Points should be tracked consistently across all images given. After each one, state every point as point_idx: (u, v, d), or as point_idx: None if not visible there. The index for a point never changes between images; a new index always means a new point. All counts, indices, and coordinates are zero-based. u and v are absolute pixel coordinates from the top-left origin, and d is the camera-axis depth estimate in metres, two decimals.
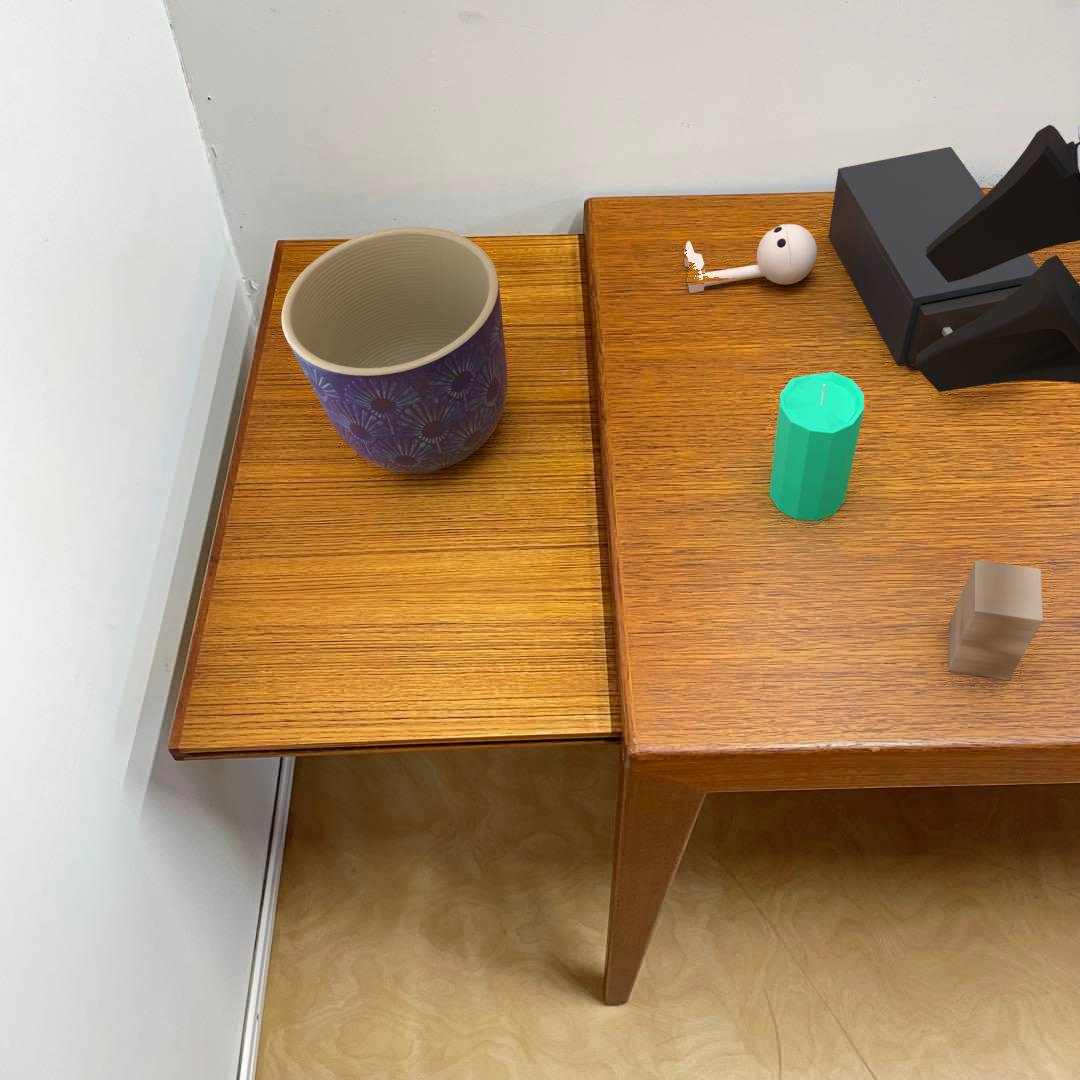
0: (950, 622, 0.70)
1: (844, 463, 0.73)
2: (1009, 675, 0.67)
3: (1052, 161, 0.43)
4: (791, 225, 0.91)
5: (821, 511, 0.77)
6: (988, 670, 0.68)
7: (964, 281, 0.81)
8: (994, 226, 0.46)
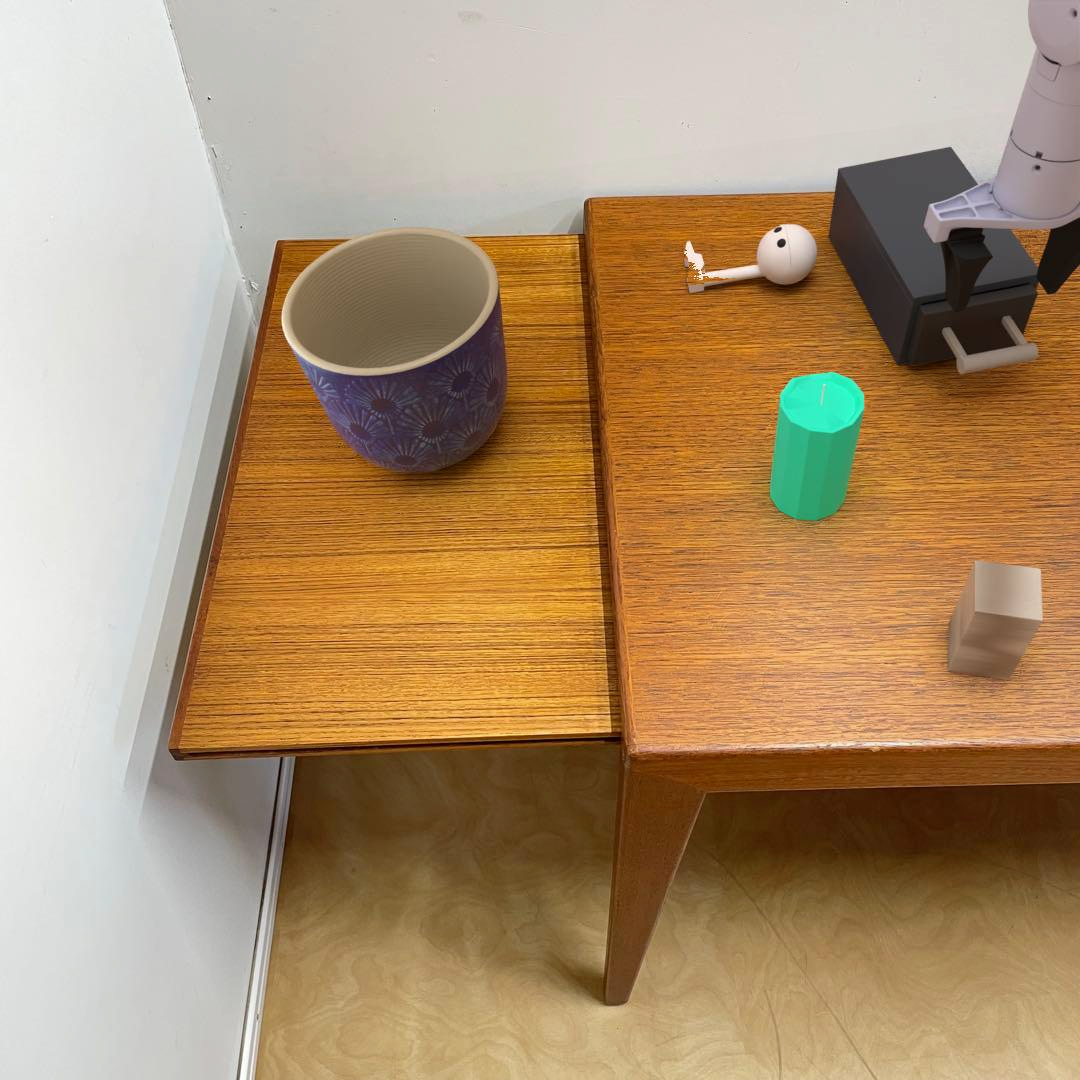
0: (950, 622, 0.70)
1: (844, 463, 0.73)
2: (1009, 675, 0.67)
3: None
4: (791, 225, 0.91)
5: (821, 511, 0.77)
6: (988, 670, 0.68)
7: None
8: (1054, 247, 0.74)
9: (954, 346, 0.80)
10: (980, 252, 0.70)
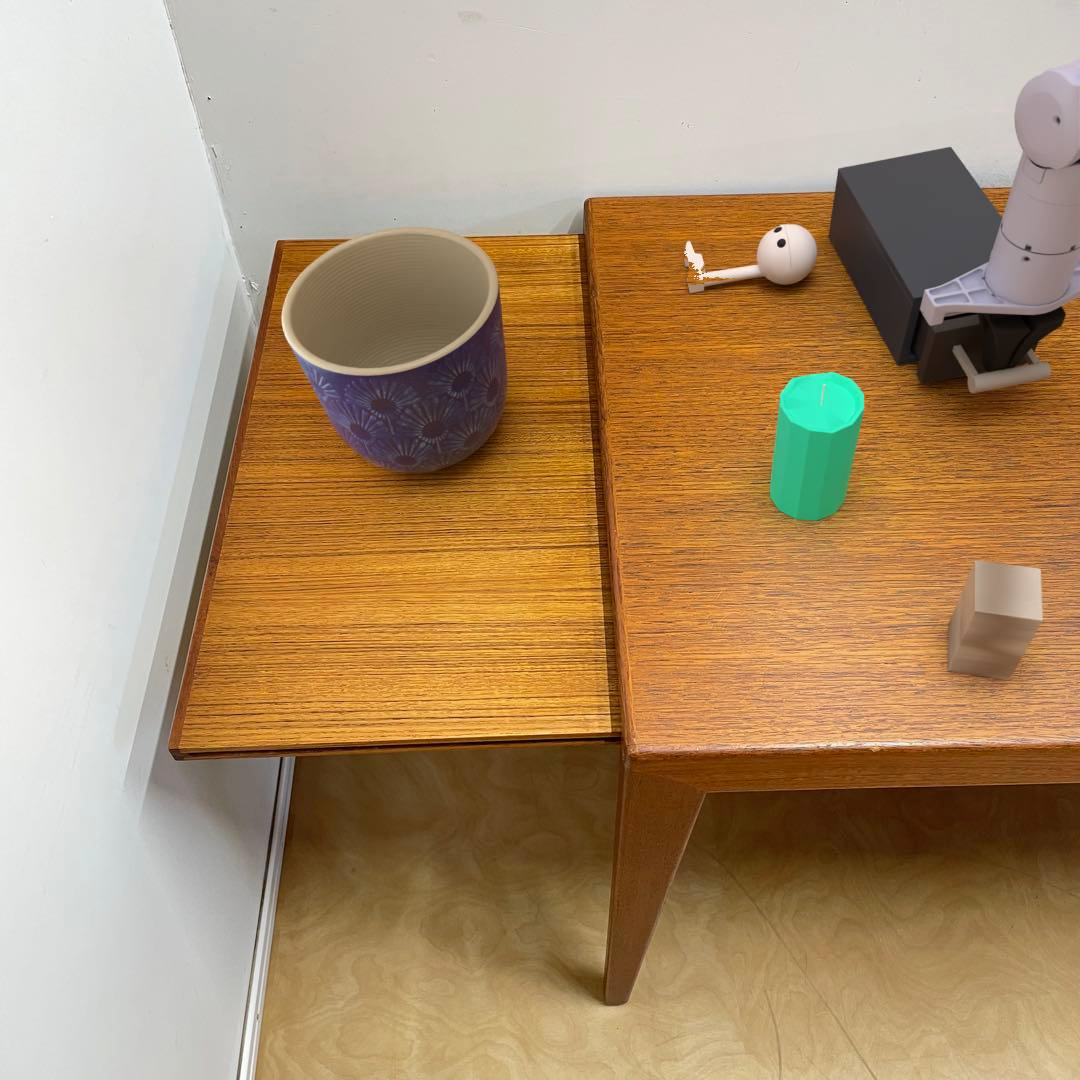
0: (950, 622, 0.70)
1: (844, 463, 0.73)
2: (1009, 675, 0.67)
3: None
4: (791, 225, 0.91)
5: (821, 511, 0.77)
6: (988, 670, 0.68)
7: None
8: None
9: (965, 364, 0.79)
10: (1018, 326, 0.73)
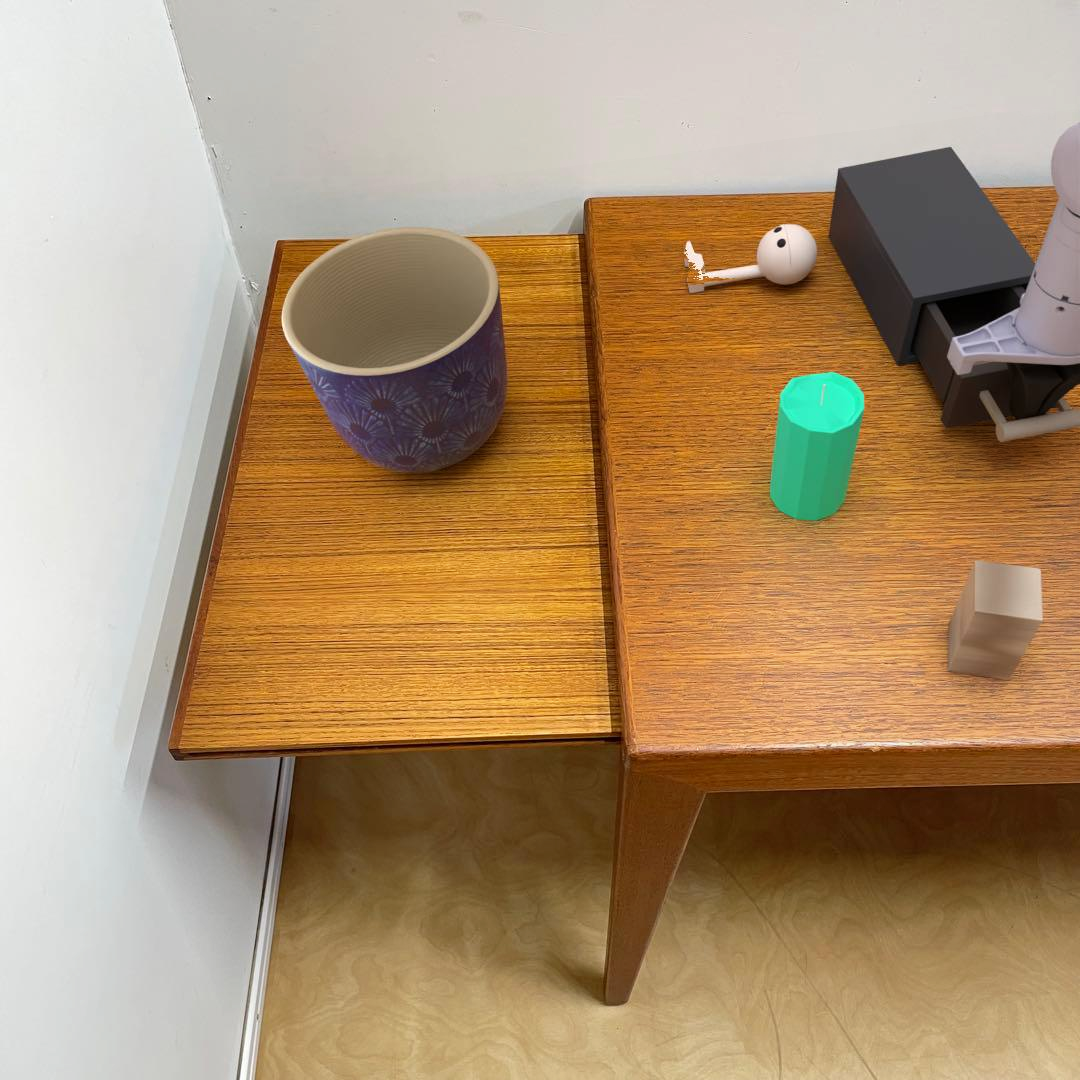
0: (950, 622, 0.70)
1: (844, 463, 0.73)
2: (1009, 675, 0.67)
3: None
4: (791, 225, 0.91)
5: (821, 511, 0.77)
6: (988, 670, 0.68)
7: (964, 281, 0.81)
8: None
9: (993, 411, 0.76)
10: (1050, 376, 0.70)
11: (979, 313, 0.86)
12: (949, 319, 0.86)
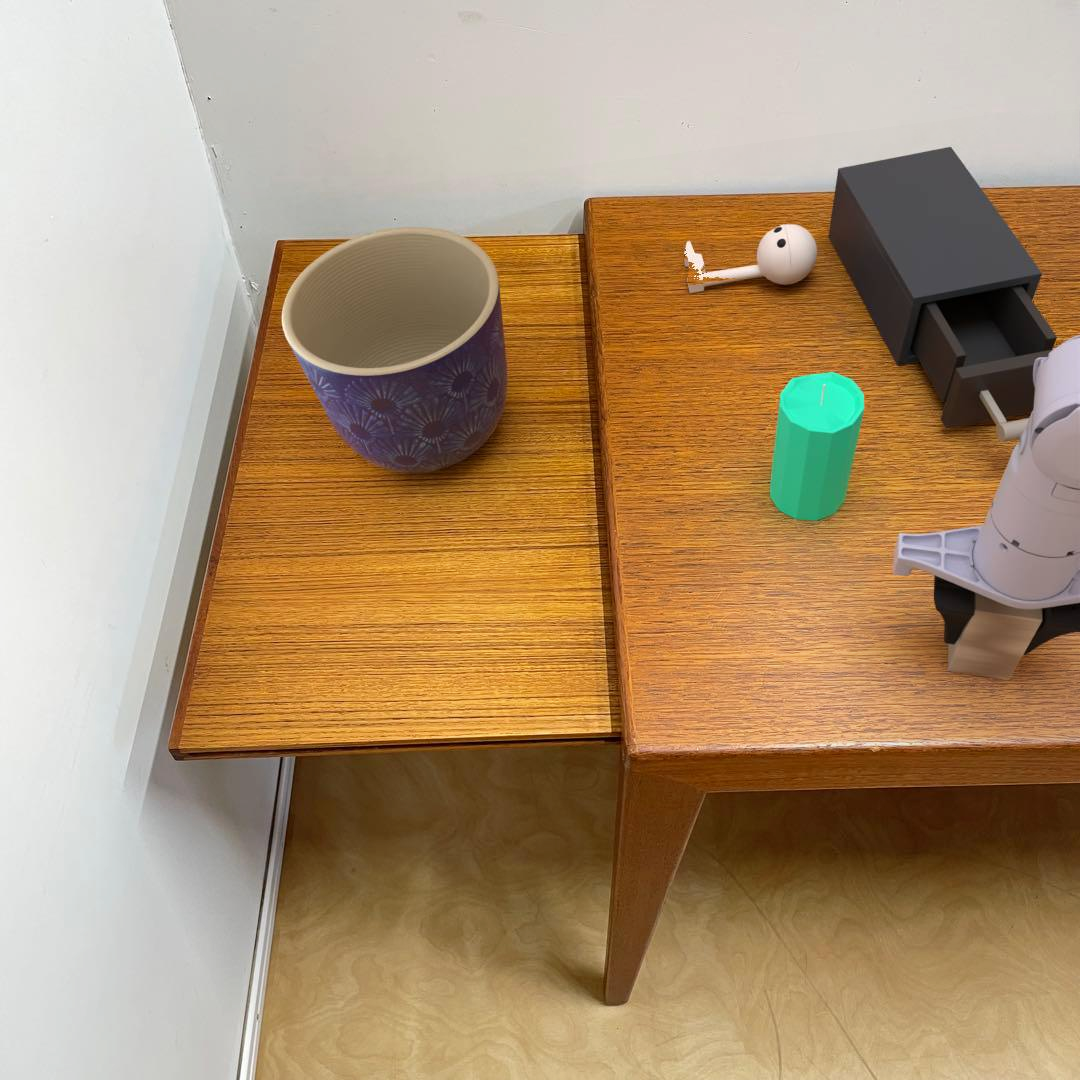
0: None
1: (844, 463, 0.73)
2: (1009, 675, 0.67)
3: None
4: (791, 225, 0.91)
5: (821, 511, 0.77)
6: (988, 670, 0.68)
7: (964, 281, 0.81)
8: None
9: (993, 411, 0.76)
10: (961, 605, 0.62)
11: (980, 313, 0.86)
12: (949, 319, 0.86)
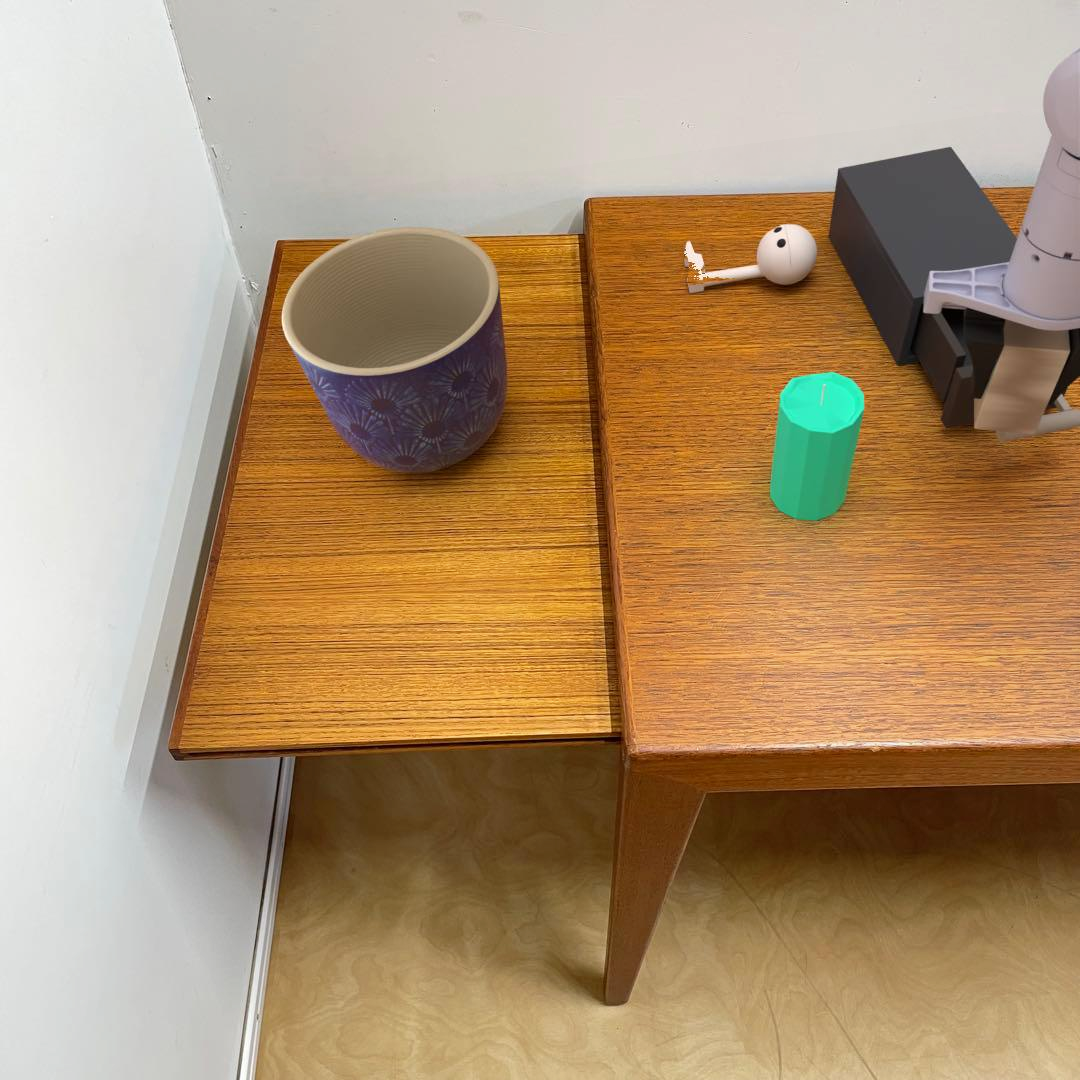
0: None
1: (844, 463, 0.73)
2: (1035, 427, 0.69)
3: None
4: (791, 225, 0.91)
5: (821, 511, 0.77)
6: (1014, 423, 0.69)
7: None
8: None
9: None
10: (991, 337, 0.63)
11: None
12: (949, 319, 0.86)
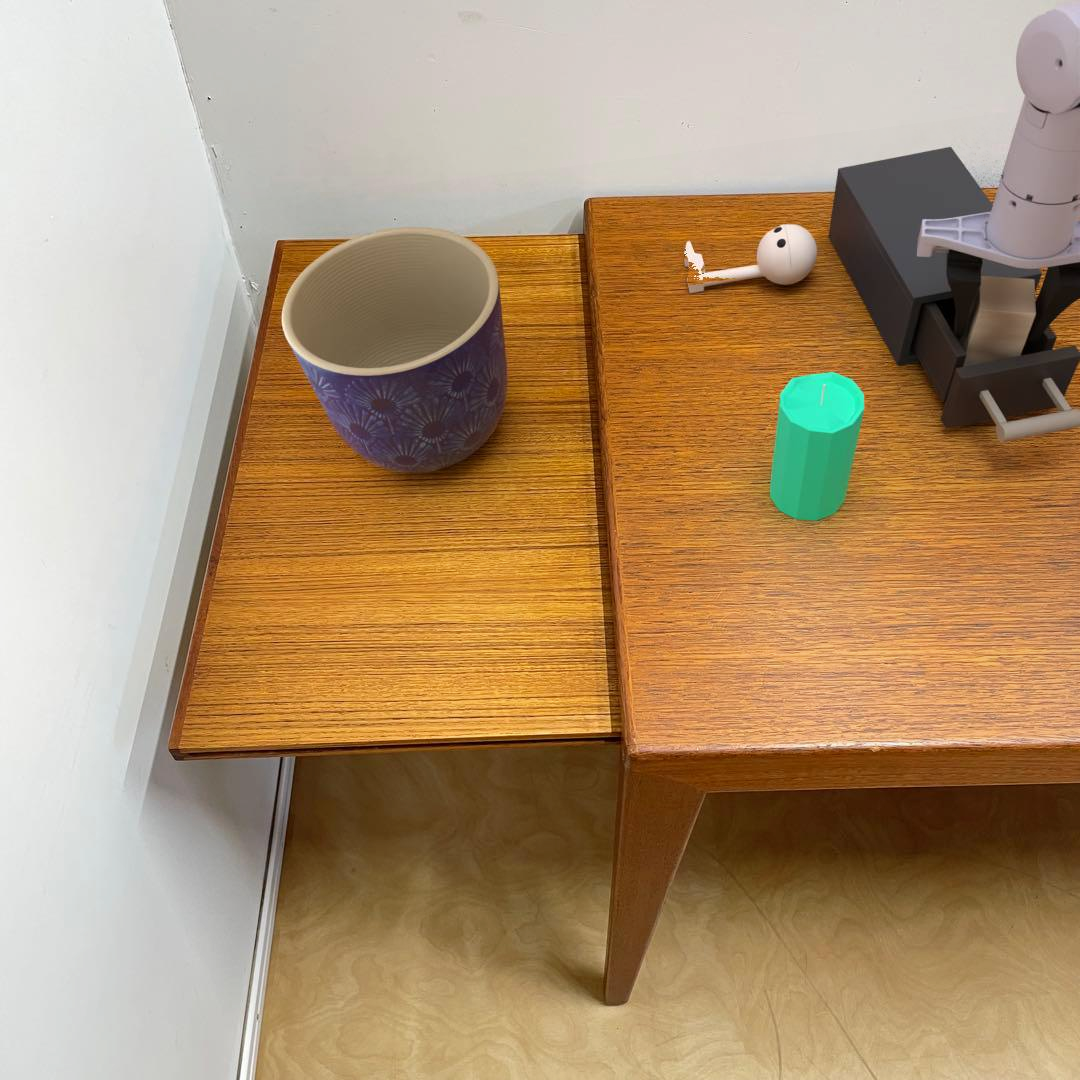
0: None
1: (844, 463, 0.73)
2: None
3: None
4: (791, 225, 0.91)
5: (821, 511, 0.77)
6: None
7: None
8: (1042, 295, 0.76)
9: (993, 411, 0.76)
10: (970, 276, 0.73)
11: None
12: (949, 319, 0.86)
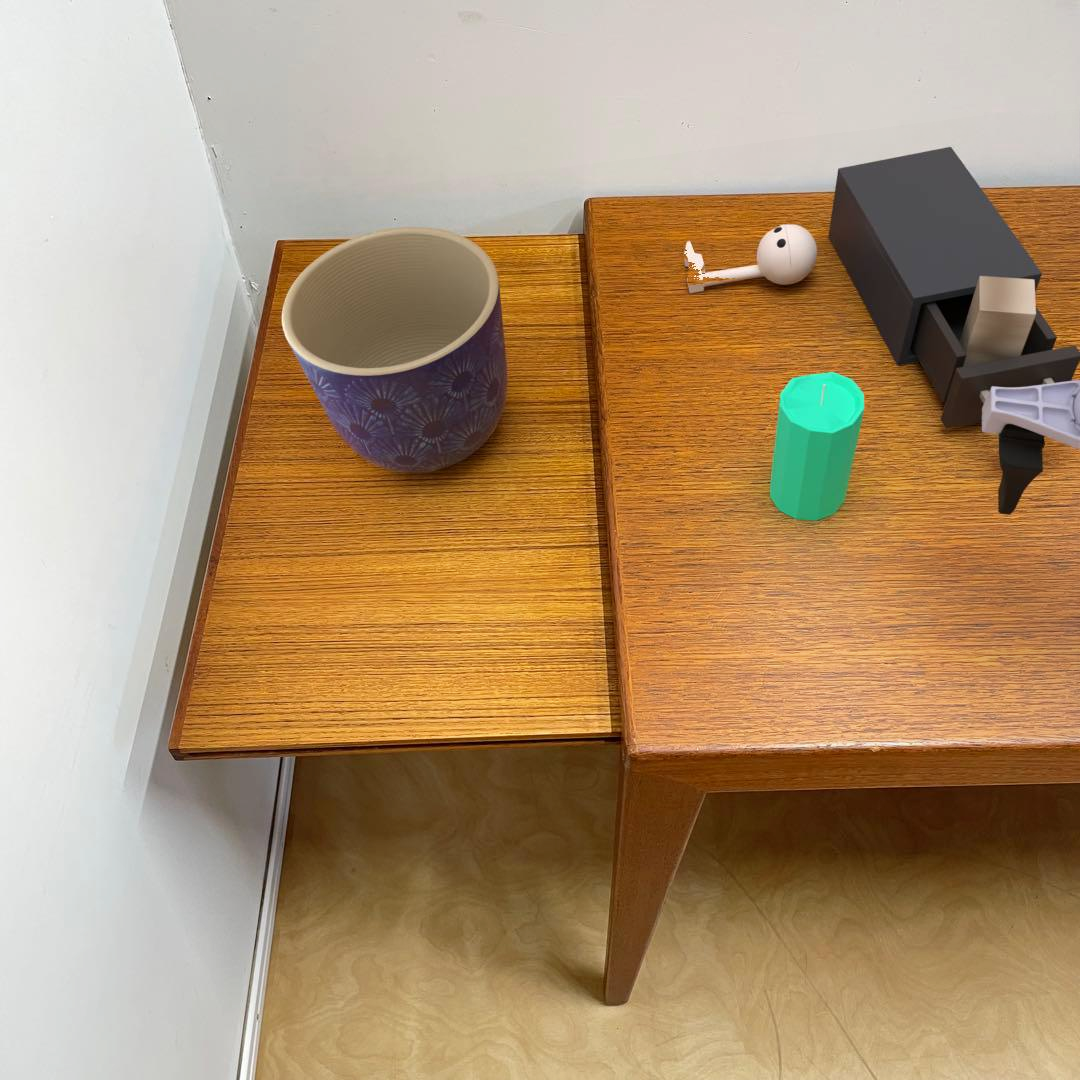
0: None
1: (844, 463, 0.73)
2: None
3: None
4: (791, 225, 0.91)
5: (821, 511, 0.77)
6: None
7: (964, 281, 0.81)
8: None
9: None
10: (1029, 461, 0.57)
11: None
12: (949, 319, 0.86)
